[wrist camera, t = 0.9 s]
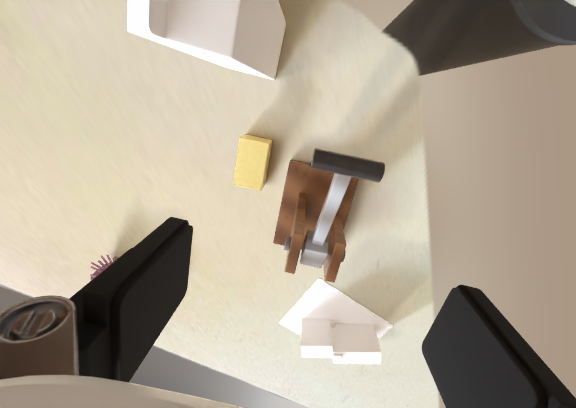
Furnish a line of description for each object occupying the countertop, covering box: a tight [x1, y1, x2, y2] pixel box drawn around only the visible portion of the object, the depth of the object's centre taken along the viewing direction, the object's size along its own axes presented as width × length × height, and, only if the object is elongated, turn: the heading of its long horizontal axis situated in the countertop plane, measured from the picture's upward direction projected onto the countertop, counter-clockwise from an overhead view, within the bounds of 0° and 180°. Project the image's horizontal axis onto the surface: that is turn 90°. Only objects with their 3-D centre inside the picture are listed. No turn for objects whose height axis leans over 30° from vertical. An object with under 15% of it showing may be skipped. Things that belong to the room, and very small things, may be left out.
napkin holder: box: [279, 279, 394, 365], centre depth 42 cm, size 15×11×6 cm
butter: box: [234, 135, 272, 191], centre depth 35 cm, size 6×4×3 cm, turn 169°
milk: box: [127, 0, 286, 80], centre depth 21 cm, size 6×6×22 cm
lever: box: [300, 148, 385, 268], centre depth 24 cm, size 13×5×2 cm, turn 168°
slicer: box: [273, 160, 359, 282], centre depth 32 cm, size 12×9×13 cm
